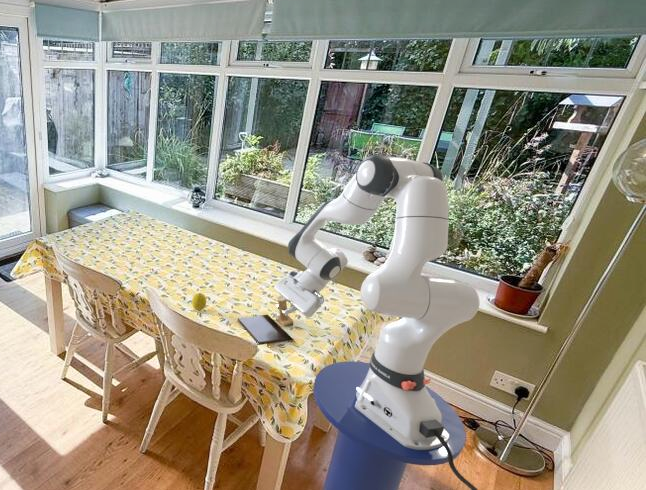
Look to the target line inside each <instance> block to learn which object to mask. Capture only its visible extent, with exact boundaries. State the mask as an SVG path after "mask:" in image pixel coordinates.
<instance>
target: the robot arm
mask: <svg viewBox="0 0 646 490" xmlns="http://www.w3.org/2000/svg"><path fill="white" fill-rule="evenodd" d="M443 179H444V178H443V172H442V171H441V169H439V168H438V167H436V166H435V165H433V164H431V163H429V162H421V161H418V160H414V159H411V158H410V159H409V158H408V157H402V156H392V155H391V156H388V155H384V154H375V155H370V156H366V157H365V158H364V159H363V160H362V161H361V162H360V163H359V165H358V167H357V169H356V171H355V174H354V175H353V177H352V178H351V179H350V180H349V181H348V183H347V184H346V186H345V187H344V189H343V191H342V192H341V194H340V195H339V196H338V197H337V198H334V199H333V198H331V199H328V200H327V201H325V202H324V203H323V204H321V205H320V207H318V209H316V211H314V213H313V215H312V216H311V217H310V218H309V219H308V220H307V222H306V223H305V224H304V225H303V227H302V228H301V229H300V230H299V231H298V232H297V233H296V234H295V235H294V236H293V237H292V238H291V239H290V240H289V242H288V244H287V250H288V254H289V256H291V257H292V258H293V259H295V260H296V261H298V262H299V263H301V265H303V266H304V267H305V268H306V269H305V270H304V271H295V270H292V269H291V270H289V271H288V272H287V275H285V276H283V277H281V278H280V279H279V280H278V281H277V282H276V283H275V284H274V286H273V289H274V290H275V291H276V293H278V294H279V296H284V297H285V298H286V302H287V303H289V304H290V305H289V306H290V307H289V308H288V307H287V309H284V310H283V311H282V313H283V314H284V315H285V316H287V315H288V316H289V314H292V313H296V311H299V312H300V313H301V314H302V315H303V316H304V317H305V318H306V319H309V318H311V317H313V315H315V313H317V311H318V310H319V309H320V307H321V306H322V305H323V304H324V303H325V297H324V295H322V294H320V293H321V292H322V291H323V290H324V289H325V288H326V286H327V285H328V283H330V282H332V281H333V280H334V279H336V278H337V277H338V275H339V274H340V273H341V272H342V271H343V270H344V269H345V267H346V266H347V265H348V263H349V261H348V257H347V256H346V254H345V253H344V252H342V251H341V250H340V249H338V248H336V247H332V248H328V247H327V246H325V244H323V243H321V242H320V241H319V240H318V239H317V238H316V234H317V233H318V232H319V230H320V229H322V227H323V226H324V225H325V224H326V223H327V222H328V221H330V222H335V223H338V224H342V225H347V226H359V225H362V224H365V223H367V222H368V221H370V219H371V218H372V217H374V215H375V214H376V212H377V211H378V210H379V207H380V206H381V204H382V203H383V201H384V200H385V198H390V199H392V200H393V199H394V200H395V203H396V211H395V223H394V224H395V225H394V237H393V244H392V248H391V250H390V254H389V256H388V257H387V259H386V261H384V263H383V264H382V265H381V266H380V267H379V268H378V269H377V270H375V271H374V272H372V273H370V274H369V275H367V276H366V277H365V278H364V279H363V281H362V283H361V286H360V298H361V299H360V300H361V301H362V304H363V305H364V307H366V309H367V310H369V311H371V312H374V313H376V314H380V315H383V316H388V317H393V318H394V317H395V318H400V319H398V320H395V321H393V322H390V323H388V324H386V325H385V326H383V327H382V328H381V330H380V333H379V335H378V339H377V343H376V345H375V350H374V351H373V352H372V354H371V357H370V359H369V363H370V368H369V371H368V373H367V376H366V378H365V380H364V381H363V383H362V385H361V386H360V387H359V388H358V387H357V389H356V390H357V392H356V397H357V401H356V403H355V408H356V409H357V410H359V411H360V412H361V413H362V414H364V415H365V416H366V417H367V418H369V419H370V420H371V421H373V422H374V423H375V424H376V425H378V426H379V427H380V428H381V429H383V430H384V431H385V432H387V433H388V434H389V435H390V436H392V437H393V438H394V439H395V440H397V441H398V442H399V443H401V444H402V445H403V446H405V447H407V448H411V449H416V450H429V449H435V448H438V447H441V446H444V448H445V450H446V452H447V455H448V462H447V463H448V465H449V467H450V469H451V471H452V472H453V474H454V475H455V477H456V478H457V479H459V481H461V483H463V484H464V485H465V486H466V487H468V488H469V489H470V490H479V489H478V488H477V487H475V485H473V484H472V483H471V482H470V481H469V480H468V479H466V478H465V477H464V476H463V475H462V474H461V473H460V472H459V471H458V469H457V467H456V466H455V463H454V459H453V456H452V453H451V451H450V449H449V447H448V445H447V442H448V440H449V436H450V435H449V434H448V432H447V431H446V430H445V429H444V426H443V425H442V424H441V422H442V415H441V412H440V410H439V409H438V407H437V406H436V402H435V400H434V399H433V398H432V397H431V396H430V394H429V392H428V391H427V389H426V387H425V386H426V385H427V384H430V383H431V382H430V381H432V379H431V378H427V379H425V378H426V377H425V369H424V365H425V363H426V361H427V358H428V355H429V353H430V351H431V349H432V348H433V345H434V344H435V343H436V342H437V341H438V340H439V338H440V337H442V336H443V335H445V334H446V333H447V332H448V331H449V330H451V329H452V328H454V327H456V326H459V324H460V325H461V324H462V323H465V322H469V321H471V320H472V319H473V318H474V317H475V316H476V315H477V313H478V311H479V309H480V303H481V302H480V296H479V293H478V292H477V290H476V289H475V287H474V286H473V285H472V284H470V283H468V282H465V281H461V280H458V279H454V278H452V277H443V276H434V275H423V274H422V271H423V268H424V266H425V265H426V264H427V263H428V262H430V261H434V260H436V259H438V258H440V257H442V256H443V255H444V254H445V253H446V252H447V250H448V245H449V244H448V242H449V222H450V220H449V219H450V206H449V205H450V204H449V197H448V192H447V186H446V184H445V182H444V180H443ZM275 308H276V309H277V310H279V305H278V303H276V304H275Z"/></svg>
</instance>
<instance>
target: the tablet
mask: <svg viewBox="0 0 646 490" xmlns="http://www.w3.org/2000/svg"><path fill="white" fill-rule="evenodd" d="M237 321H238V322H239V323H240V325H241V326H242V327H243V328H244V330H245V331H246V332H247V333H248V334H249V336H250V337H251V338H252V339H253V340H254V341H255V343H257V342H258V343H259V345H258V346H261V345H268V344H277V343H284V342H289V341H295V339H294V338H293V337H291V335H290V334H288V332H287V331H286V330H285V329H283V327H282V326H280V325H279V324H278V323H277V322H276V321H275V320H274V319H273V318H272V317H271V316H270V315H269V314H260V315H252V316H244V317H237Z"/></svg>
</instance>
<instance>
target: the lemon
mask: <svg viewBox="0 0 646 490" xmlns="http://www.w3.org/2000/svg"><path fill="white" fill-rule="evenodd" d="M191 304H192V307H193V309H195V310H197V311H201V310H203V309H205V308H206V305H207V297H206V296H205V294H203V293H202V292H197V293H195V294H194V295H193V296H192V299H191Z"/></svg>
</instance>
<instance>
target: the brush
mask: <svg viewBox="0 0 646 490" xmlns="http://www.w3.org/2000/svg"><path fill="white" fill-rule="evenodd" d="M277 304H278V305H279V309H278V311H279V312H278V313H279V315H276V316H275V320H276V321H277V322H278V323H279V324H281V326H283V327H290V326H294V320H293V319H292V317H291V316H290V315H289V314H288V315H287V316H285V315H284V314H283V313H282V311H283V310H284V309H288V306H287V301H286V298H285V297H284V296H281V295H279V296H278V297H277Z"/></svg>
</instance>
